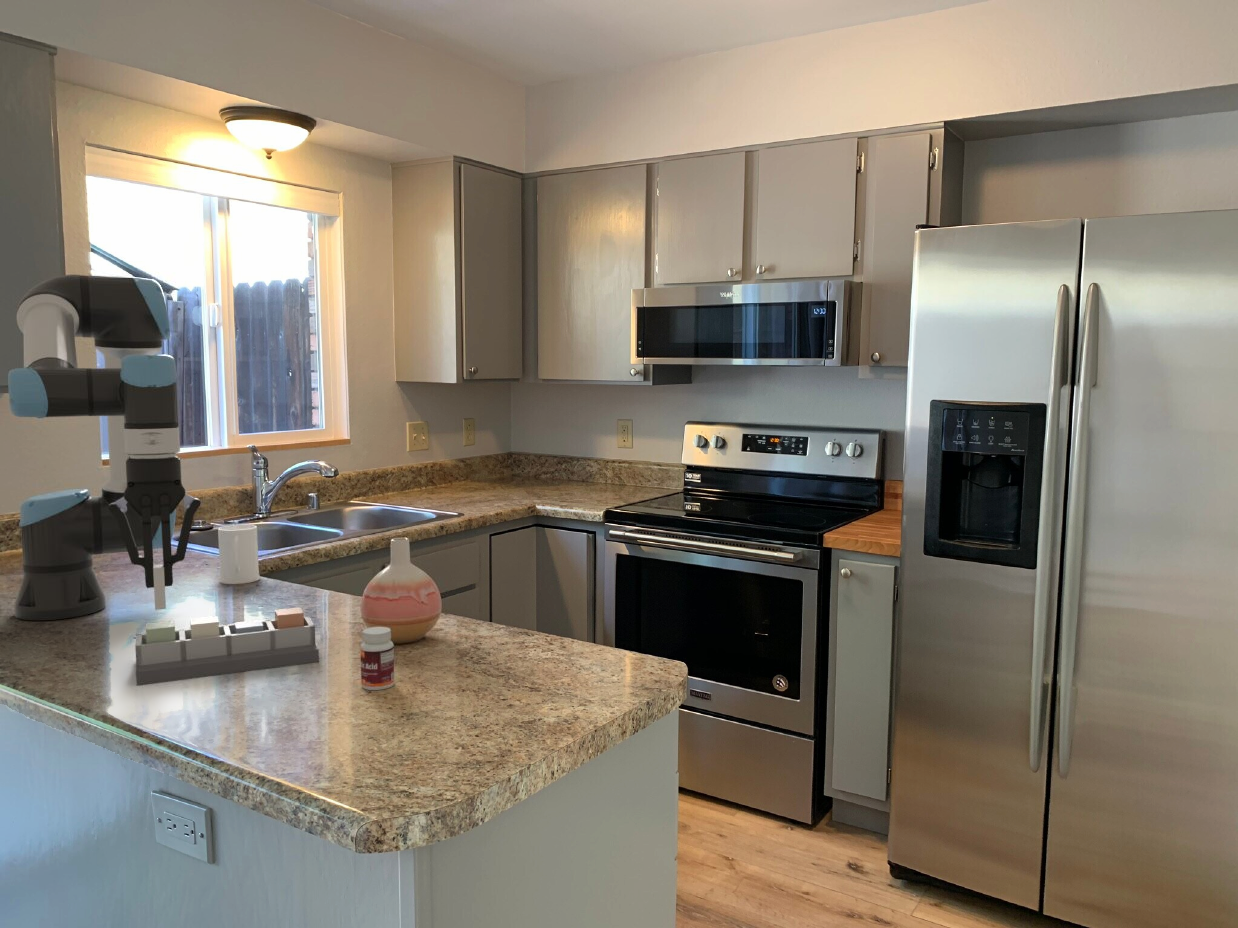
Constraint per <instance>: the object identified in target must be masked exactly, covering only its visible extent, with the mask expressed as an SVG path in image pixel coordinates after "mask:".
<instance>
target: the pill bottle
mask: <svg viewBox="0 0 1238 928" xmlns="http://www.w3.org/2000/svg"><path fill="white" fill-rule="evenodd" d="M390 639H391V629H390V628H387V627H371V628H367V627H366V628H365V629H363V631H362V641H363V642H362V643H361V645H360V647H359V648H360V649H359V651H360V683H361V685H360V686H361V687H362V688H363V689H365V690H367V691H382V690H387V689H389V688H391V687H394V685H395V644H393V642H392V641H390Z"/></svg>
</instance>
